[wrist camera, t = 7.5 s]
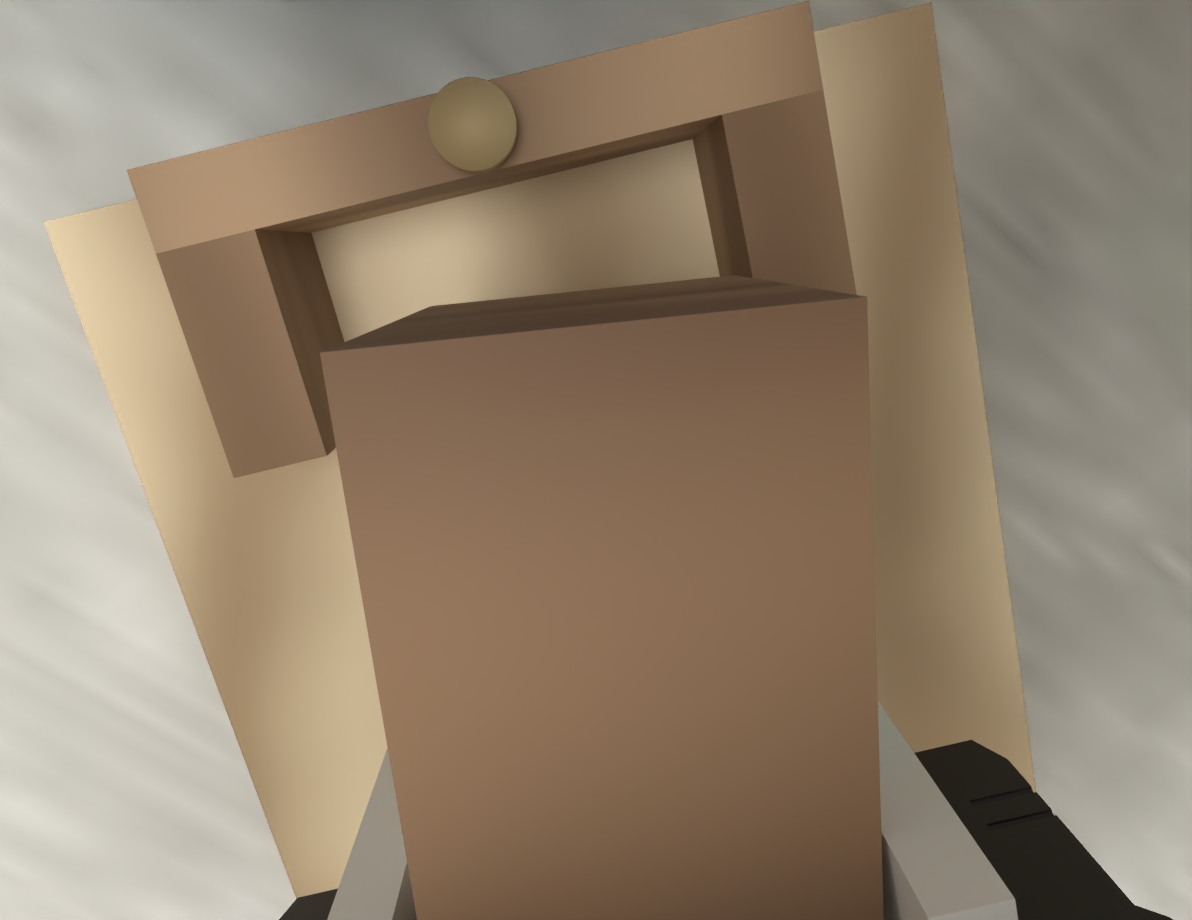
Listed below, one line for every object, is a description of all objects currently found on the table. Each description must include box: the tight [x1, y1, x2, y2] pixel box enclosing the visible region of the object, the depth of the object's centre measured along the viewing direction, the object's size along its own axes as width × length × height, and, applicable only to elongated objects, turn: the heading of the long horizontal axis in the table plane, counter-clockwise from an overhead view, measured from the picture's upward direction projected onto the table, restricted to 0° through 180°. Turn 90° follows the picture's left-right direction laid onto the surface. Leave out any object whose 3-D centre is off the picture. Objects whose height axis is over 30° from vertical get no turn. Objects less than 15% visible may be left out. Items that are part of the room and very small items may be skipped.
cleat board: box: [44, 1, 1036, 899], centre depth 17 cm, size 16×20×5 cm
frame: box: [320, 275, 884, 920], centre depth 12 cm, size 14×5×6 cm, turn 6°
